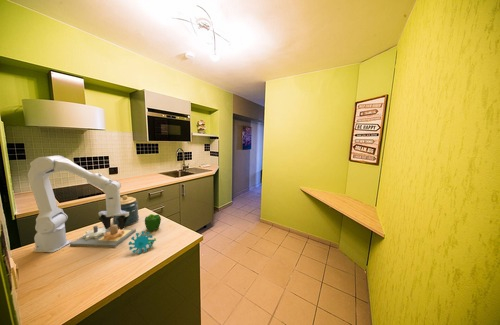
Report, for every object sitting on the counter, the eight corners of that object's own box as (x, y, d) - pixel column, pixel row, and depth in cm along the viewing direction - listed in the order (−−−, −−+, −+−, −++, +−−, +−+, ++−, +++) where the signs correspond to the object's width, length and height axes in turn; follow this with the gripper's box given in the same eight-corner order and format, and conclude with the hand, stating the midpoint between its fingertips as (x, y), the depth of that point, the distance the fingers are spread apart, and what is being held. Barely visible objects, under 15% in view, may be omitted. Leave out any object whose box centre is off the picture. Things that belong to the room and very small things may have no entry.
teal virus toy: (125, 254, 71) (131, 231, 76) (126, 257, 75) (131, 235, 80) (154, 251, 76) (157, 229, 82) (154, 253, 80) (156, 233, 86)
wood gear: (99, 240, 80) (98, 229, 80) (113, 231, 89) (112, 221, 88) (115, 240, 80) (114, 230, 80) (127, 231, 88) (127, 222, 88)
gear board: (70, 245, 77) (69, 234, 77) (97, 230, 91) (96, 220, 91) (115, 247, 78) (114, 236, 77) (135, 231, 91) (135, 221, 91)
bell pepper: (154, 224, 100) (154, 209, 99) (163, 227, 97) (163, 211, 96) (141, 230, 92) (140, 214, 91) (150, 234, 89) (150, 217, 88)
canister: (112, 221, 102) (110, 194, 99) (137, 215, 110) (135, 191, 108) (113, 229, 92) (111, 200, 90) (140, 222, 101) (139, 196, 99)
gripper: (92, 206, 79) (94, 232, 81) (121, 207, 79) (122, 233, 81) (104, 201, 86) (106, 225, 88) (131, 202, 86) (132, 225, 88)
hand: (115, 228), depth 85 cm, fingers open, 7 cm apart
